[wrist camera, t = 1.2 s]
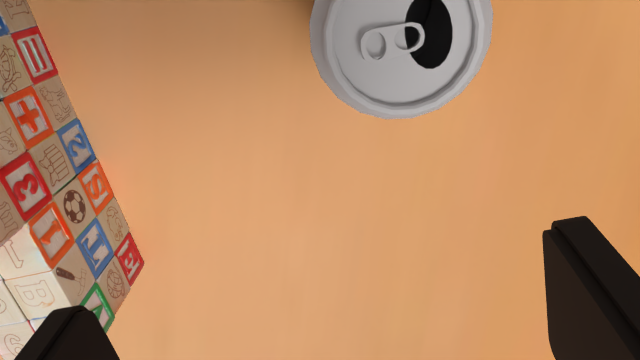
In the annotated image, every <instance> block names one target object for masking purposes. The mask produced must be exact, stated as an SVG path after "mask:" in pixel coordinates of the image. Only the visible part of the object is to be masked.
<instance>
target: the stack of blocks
mask: <svg viewBox="0 0 640 360" xmlns="http://www.w3.org/2000/svg"><path fill="white" fill-rule="evenodd" d="M143 266H144V262H143V260H142V258H141V256H140V253H139V251H138V249H137V247H136V245H135V243H134V241H133V239H132V237H131V234H130V233H129V227H128V225H127V223H126V220H125V218H124V216H123V214H122V212H121V209H120V207H119V205H118V203H117V201H116V199H115V198H114V195H113V192H112V189H111V187H110V185H109V183H108V180H107V178H106V176H105V173H104V171H103V169H102V167H101V165H100V162H99V160H98V159H96V157H95V154H94V151H93V149H92V147H91V145H90V143H89V141H88V138H87V136H86V134H85V132H84V130H83V127H82V125H81V123H80V120H79V119H78V118H77V115H76V113H75V110H74V108H73V106H72V104H71V102H70V100H69V97H68V95H67V93H66V91H65V89H64V86H63V84H62V82H61V80H60V78H59V76H58V71H57V69H56V66H55V64H54V62H53V59H52V57H51V55H50V53H49V51H48V48H47V46H46V44H45V42H44V39H43V37H42V35H41V33H40V31H39V28H38V26H37V24H36V21H35V19H34V16H33V14H32V12H31V10H30V7H29V5H28V3H27V1H26V0H0V355H1V356H2V357H3V359H4V360H14V359H15V357H16V356H17V355H18V353H19V352H20V351H21V349H22V348H23V347H24V346H25V344H26V343H27V342H28V340H29V339H30V338H31V337H32V335H33V334H34V333H35V331H36V330H37V329H38V327H39V326H40V325H41V324H42V322H43V321H44V320H45V318H46V317H47V316H48V315H49V313H50V312H52V311H53V310H55V309H60V308H65V307H71V306H77V305H82V306H84V307H86V308H87V309H88V310H90V311H93V312H94V313H95V315H96V316H97V318H98V320H99V322H100V324H101V326H102V327H103V329H104V331H105V333H107V331H108V329H109V327H110V326H111V324H112V322H113V321H114V318H115V314H116V312H117V311H118V309H119V308H120V306H121V304H122V302H123V301H124V299H125V298H126V296H127V294H128V293H129V291H130V287H131V286H132V284H133V283H134V281H135V279H136V278H137V276H138V275H139V273H140V271H141V269H142V268H143Z"/></svg>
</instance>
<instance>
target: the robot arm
mask: <svg viewBox="0 0 640 360" xmlns="http://www.w3.org/2000/svg"><path fill="white" fill-rule="evenodd" d="M543 254H544V270H545V286H546V302H547V318H548V335H549V342H550V346H551V349H552V352H553V355H554V357H555V359H556V360H640V277H639V276H638V274H637V273H636V272H635V271H634V270H633V269H632V268H631V266H630V265H629V264H628V263H627V262H626V261H625V260H624V258H623V257H622V256H621V255H620V254H619V253H618V252H617V250H616V249H615V248H614V247H613V246H612V245H611V244H610V242H609V241H608V240H607V239H606V238H605V237H604V236H603V234H602V233H601V232H600V231H599V230H598V229H597V228H596V226H595V225H594V224H593V223H592V222H591V221H590V220H589V219H588V218H587V217H586V216H580V217H574V218H569V219H563V220H557V221H554V222H553V223H552V226H551V230H545V231H543ZM14 360H120V359H119V357H118V355H117V353H116V352H115V350H114V348H113V346H112V344H111V342H110V340H109V339H108V337H107V335H106V333H105V331H104V329H103V327H102V326H101V324H100V322H99V320H98V318H97V316H96V315H95V313H94V312H93V311H90V310H88V309H87V308H86V307H84V306H82V305H77V306H71V307H65V308H60V309H55V310H53V311H52V312H50V313H49V315H48V316H47V317H46V318H45V320H44V321H43V322H42V324H41V325H40V326H39V327H38V329H37V330H36V331H35V333H34V334H33V335H32V337H31V338H30V339H29V340H28V342H27V343H26V344H25V346H24V347H23V348H22V349H21V351H20V352H19V353H18V355H17V356H16V357H15V359H14Z"/></svg>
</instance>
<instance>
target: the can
mask: <svg viewBox="0 0 640 360" xmlns="http://www.w3.org/2000/svg"><path fill="white" fill-rule="evenodd" d="M492 20H493V11H492V6H491V2H490V0H315V2H314V6H313V10H312V14H311V18H310V22H309V26H310V43H311V53H312V55H313V58H314V61H315V63H316V66H317V68H318V71H319V73H320V76H321V78H322V79H323V80H324V82H325V83H326V84H327V85H328V87H329V88H330V89H331V90H332V91H333V93H334V94H335V95H336V96H337V98H338V99H340V100H342V101H343V102H345V103H346V104H348V105H349V106H351V107H352V108H354V109H356V110H357V111H359V112H360V113H364V114H368V115H372V116H375V117H379V118H383V119H404V118H414V117H417V116H420V115H423V114H426V113H429V112H432V111H435V110H437V109H439V108H441V107H442V106H443V105H445V104H446V103H448V102H449V101H451V100H452V99H453V98H455V97H456V96H458V95H459V94H460V93H462V91H463V90H464V89H465V88H466V86H467V85H468V84H469V83H470V81H471V80H472V79H473V78H474V76H475V75H476V74H477V73H478V71H479V70H480V67H481V65H482V62H483V60H484V58H485V55H486V53H487V50H488V48H489V45H490V42H491V31H492Z"/></svg>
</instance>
